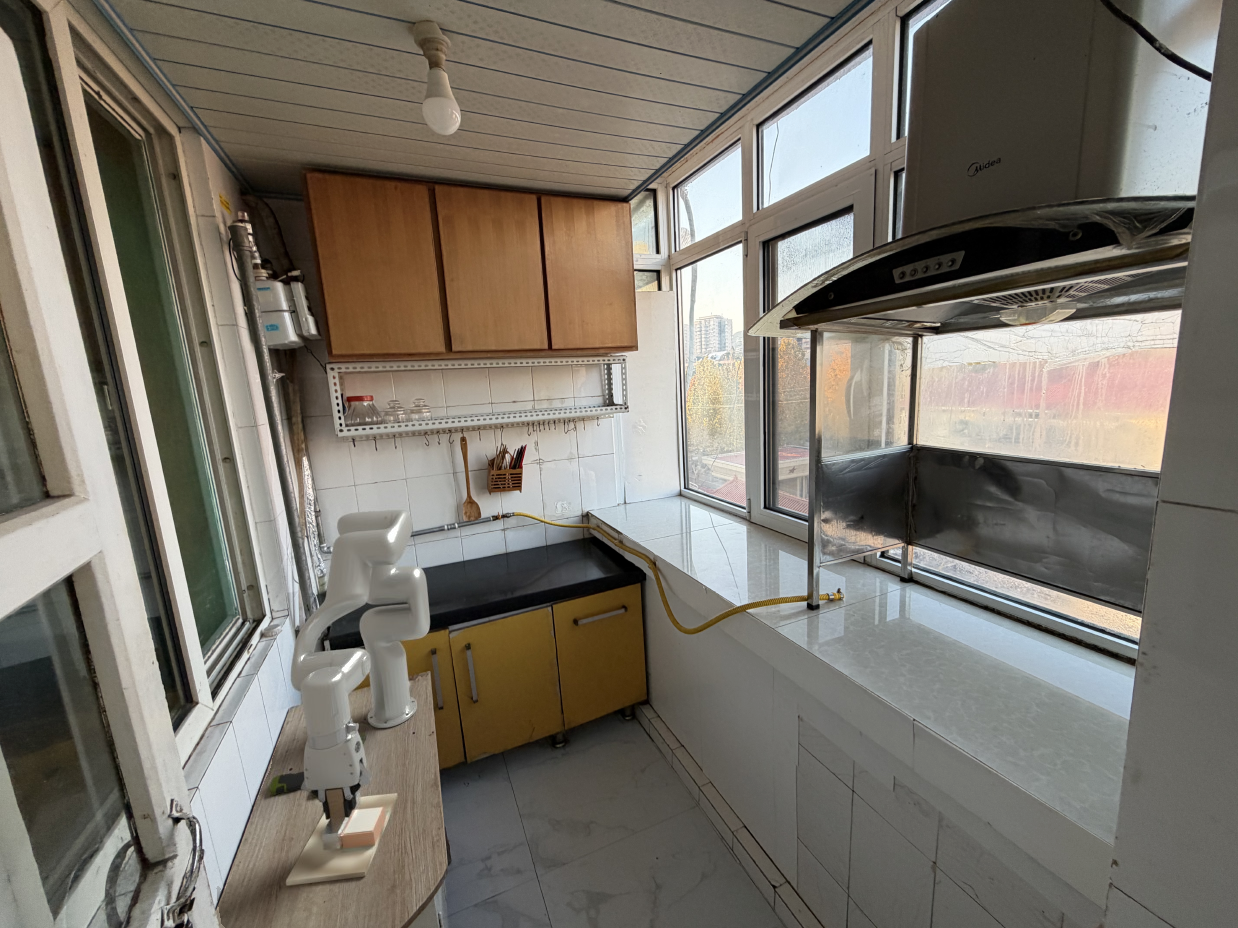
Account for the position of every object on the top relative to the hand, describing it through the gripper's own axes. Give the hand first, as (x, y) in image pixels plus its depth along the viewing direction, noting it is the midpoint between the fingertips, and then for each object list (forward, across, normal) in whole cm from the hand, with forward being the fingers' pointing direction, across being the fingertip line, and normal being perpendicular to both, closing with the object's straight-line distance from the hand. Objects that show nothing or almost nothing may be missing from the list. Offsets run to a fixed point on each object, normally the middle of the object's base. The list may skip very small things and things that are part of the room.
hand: (340, 811), depth 99 cm
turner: (+4, 0, 0) cm, 4 cm away
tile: (+5, -4, +1) cm, 7 cm away
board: (+6, -1, 0) cm, 6 cm away
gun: (+7, +15, -21) cm, 27 cm away
